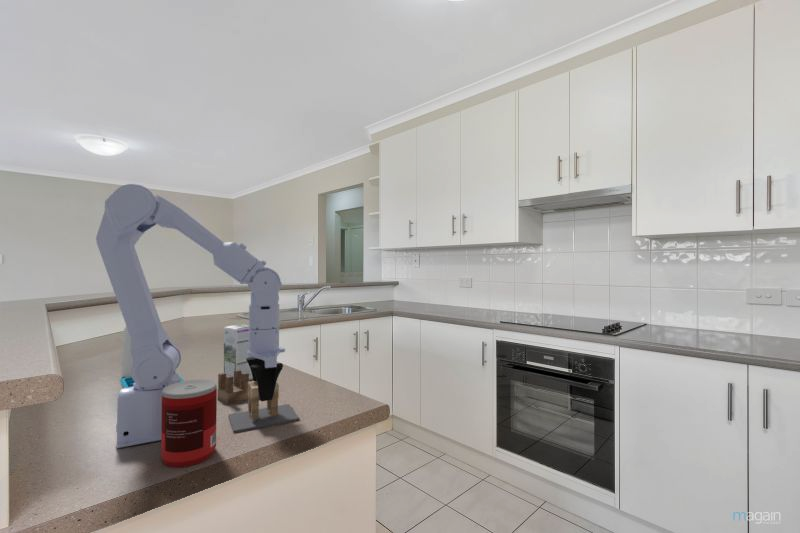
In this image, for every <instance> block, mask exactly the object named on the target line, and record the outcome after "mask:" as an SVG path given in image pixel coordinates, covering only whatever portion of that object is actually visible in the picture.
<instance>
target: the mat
mask: <svg viewBox="0 0 800 533" xmlns="http://www.w3.org/2000/svg"><path fill="white" fill-rule="evenodd" d="M227 415H228V419H229V420H228V421H229V422H230V426H231V430H232V433H234V434H235V433H240V432H245V431H246V432H247V431H250V430H251V431H252V430H257V429H261V428H265V427H272V426H277V425H281V424H286V423H292V422H296V421H301V419H300V416H299V414H297V413H296V411H295V410H294V409H293V407H292V406H291V405H290V404H289V403H287V404H285V403H284V404H280V405H279V404H278V415H277V416H271V415H270V410H267V407H263V408H262V407H261V408H259V419H255V420H252V419H251V413H250V414H249V412H248V410H244V411H240V412H235V413H229V414H227Z"/></svg>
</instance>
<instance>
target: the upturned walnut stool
mask: <svg viewBox="0 0 800 533" xmlns="http://www.w3.org/2000/svg"><path fill="white" fill-rule="evenodd" d="M217 378H218V379H217V380H218V381H217V386H218V387H217V401H219V402H222V403H223V404H225V405H231V404H236V403H239V402H243V401H248V382H250V380H249V373H247V372H245V373H241V370H234V382H233V376H226V373H224V372H221V373H218V377H217Z"/></svg>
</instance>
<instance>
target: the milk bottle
mask: <svg viewBox="0 0 800 533" xmlns="http://www.w3.org/2000/svg"><path fill="white" fill-rule="evenodd" d="M121 340H122V343H121V344H122V345H121V348H122V349H121V376H122V378H125V377H132V376H131V368H132V363H133V359H132V356H131V353H130V343H131V337H130V335H129V332H128V329H127V326H126V325H125V326H124V329H123V332H122V338H121Z"/></svg>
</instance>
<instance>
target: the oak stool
mask: <svg viewBox="0 0 800 533" xmlns="http://www.w3.org/2000/svg"><path fill="white" fill-rule="evenodd" d="M279 388H280V385H279V383H278V382H277V381H276V385H275V390H274V395H273V398H272V400H268V401H266V408H267V410H270V415H271V416H277V415H278V406H279V396H280V395H279V394H280V392H279V391H280V390H279ZM247 401H248V402H247V403H248V404H247V408H248V409H247V411H248V412H249V414H250V413H251V419H252V420H255V419H259V409H260V408H259V402H261V400H260V397H259V391H258V384H257V381H253V380H252V381H249V382H248V399H247Z"/></svg>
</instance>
